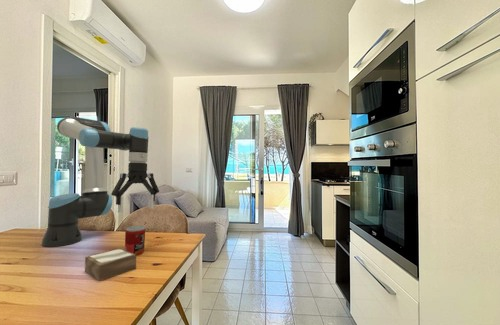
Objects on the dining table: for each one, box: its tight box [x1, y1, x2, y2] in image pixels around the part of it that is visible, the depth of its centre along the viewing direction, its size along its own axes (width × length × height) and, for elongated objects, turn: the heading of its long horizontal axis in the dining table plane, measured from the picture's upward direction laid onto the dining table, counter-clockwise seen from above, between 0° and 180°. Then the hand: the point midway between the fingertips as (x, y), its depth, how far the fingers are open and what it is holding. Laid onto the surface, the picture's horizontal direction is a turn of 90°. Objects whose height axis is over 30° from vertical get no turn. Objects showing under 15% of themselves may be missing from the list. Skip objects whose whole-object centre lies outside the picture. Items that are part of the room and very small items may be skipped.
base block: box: [84, 248, 137, 282], centre depth 82 cm, size 12×12×5 cm
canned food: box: [124, 225, 146, 256], centre depth 99 cm, size 8×8×11 cm
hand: (136, 210), depth 100 cm, fingers open, 13 cm apart
